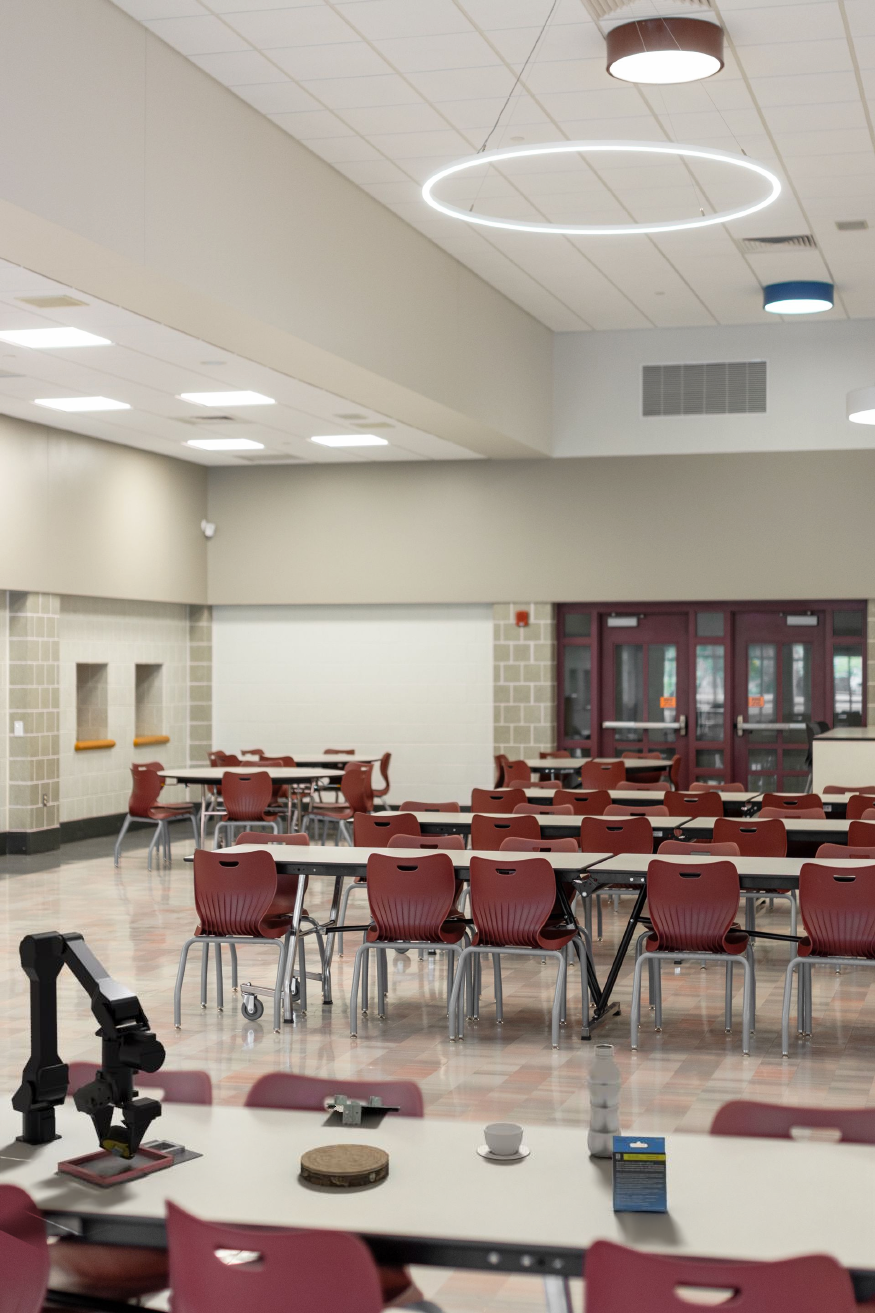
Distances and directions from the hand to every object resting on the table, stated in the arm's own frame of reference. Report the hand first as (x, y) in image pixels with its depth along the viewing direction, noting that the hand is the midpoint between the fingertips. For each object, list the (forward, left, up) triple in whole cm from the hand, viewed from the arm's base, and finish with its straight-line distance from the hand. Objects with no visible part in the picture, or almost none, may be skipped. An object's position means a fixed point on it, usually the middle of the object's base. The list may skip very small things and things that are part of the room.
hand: (117, 1150), depth 265 cm
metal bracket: (+18, +55, -2) cm, 58 cm away
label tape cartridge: (+83, +44, -4) cm, 94 cm away
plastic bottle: (+63, +63, -4) cm, 89 cm away
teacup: (+48, +52, -4) cm, 71 cm away
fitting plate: (0, +3, -3) cm, 4 cm away
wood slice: (+33, +25, -4) cm, 42 cm away
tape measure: (0, 0, -2) cm, 2 cm away
